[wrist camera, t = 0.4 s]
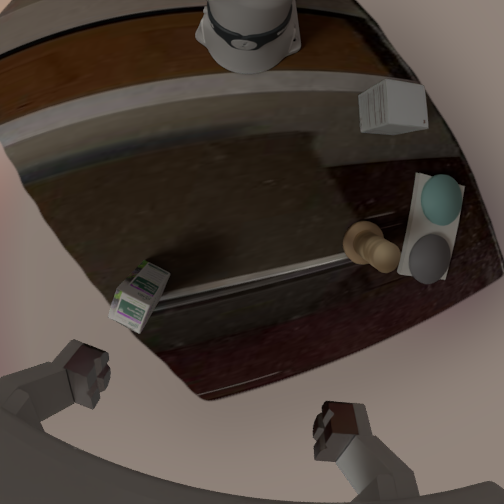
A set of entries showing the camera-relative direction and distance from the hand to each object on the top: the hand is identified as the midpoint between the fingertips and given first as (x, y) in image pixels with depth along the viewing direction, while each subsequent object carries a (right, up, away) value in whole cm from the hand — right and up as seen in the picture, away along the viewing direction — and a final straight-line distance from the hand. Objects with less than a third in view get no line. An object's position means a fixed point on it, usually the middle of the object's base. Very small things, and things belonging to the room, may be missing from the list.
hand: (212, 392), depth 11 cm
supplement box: (+24, +30, +41) cm, 56 cm away
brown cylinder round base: (+22, +7, +47) cm, 52 cm away
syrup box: (-17, 0, +47) cm, 50 cm away
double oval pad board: (+38, +10, +46) cm, 60 cm away
